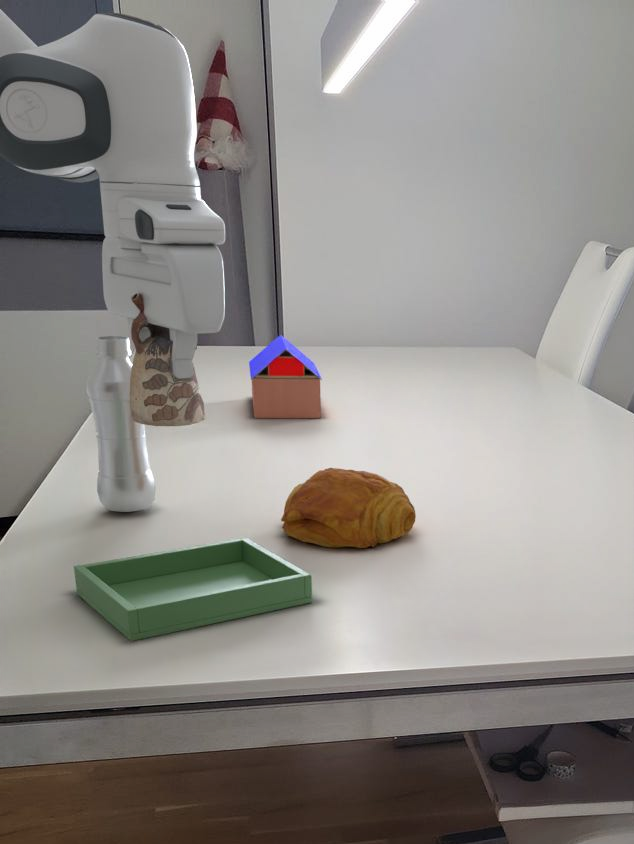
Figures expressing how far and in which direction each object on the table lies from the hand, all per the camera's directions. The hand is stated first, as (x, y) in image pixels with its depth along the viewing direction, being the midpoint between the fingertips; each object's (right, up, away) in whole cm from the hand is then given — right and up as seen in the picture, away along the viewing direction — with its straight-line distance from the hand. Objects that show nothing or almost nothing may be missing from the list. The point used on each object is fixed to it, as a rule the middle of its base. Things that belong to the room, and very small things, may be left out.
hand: (164, 371), depth 101 cm
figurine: (0, -4, +2) cm, 5 cm away
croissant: (+15, -14, +18) cm, 28 cm away
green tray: (+4, -22, -3) cm, 23 cm away
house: (-5, +16, +87) cm, 89 cm away
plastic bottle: (-11, -11, +23) cm, 28 cm away
